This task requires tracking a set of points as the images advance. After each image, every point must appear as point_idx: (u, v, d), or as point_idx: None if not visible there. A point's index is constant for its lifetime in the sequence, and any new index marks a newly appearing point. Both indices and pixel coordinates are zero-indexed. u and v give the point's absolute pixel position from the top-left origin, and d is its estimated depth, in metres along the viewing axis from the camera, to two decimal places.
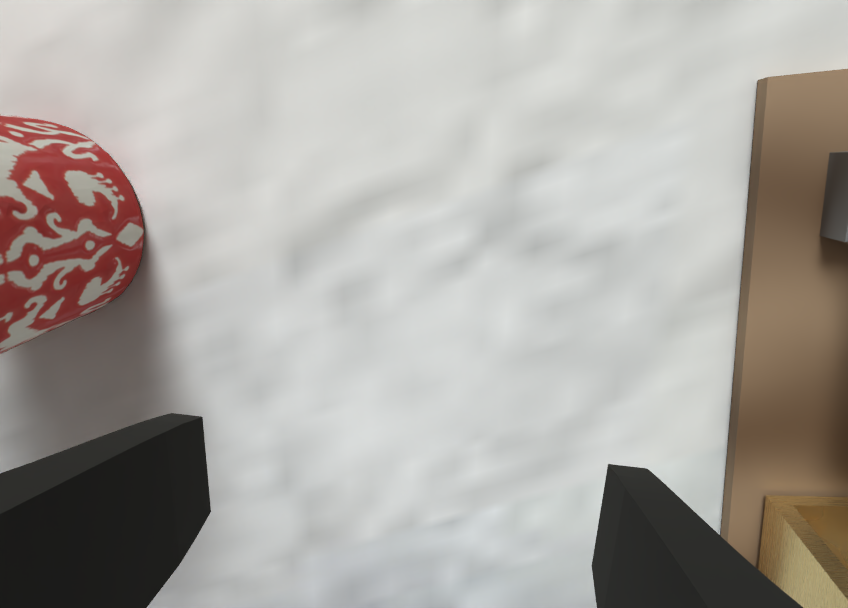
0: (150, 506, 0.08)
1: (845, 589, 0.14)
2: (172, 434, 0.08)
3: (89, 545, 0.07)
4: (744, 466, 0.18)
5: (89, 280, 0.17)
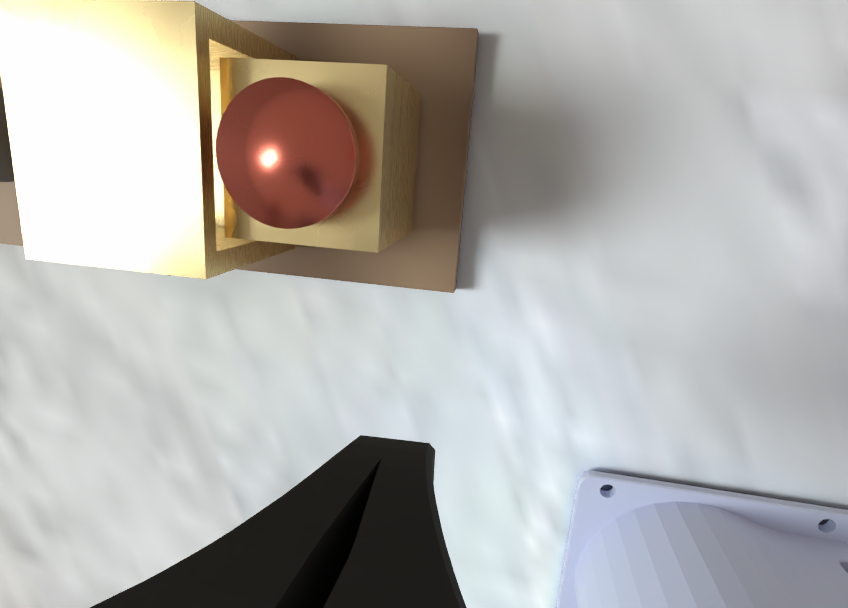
0: None
1: None
2: None
3: None
4: None
5: None
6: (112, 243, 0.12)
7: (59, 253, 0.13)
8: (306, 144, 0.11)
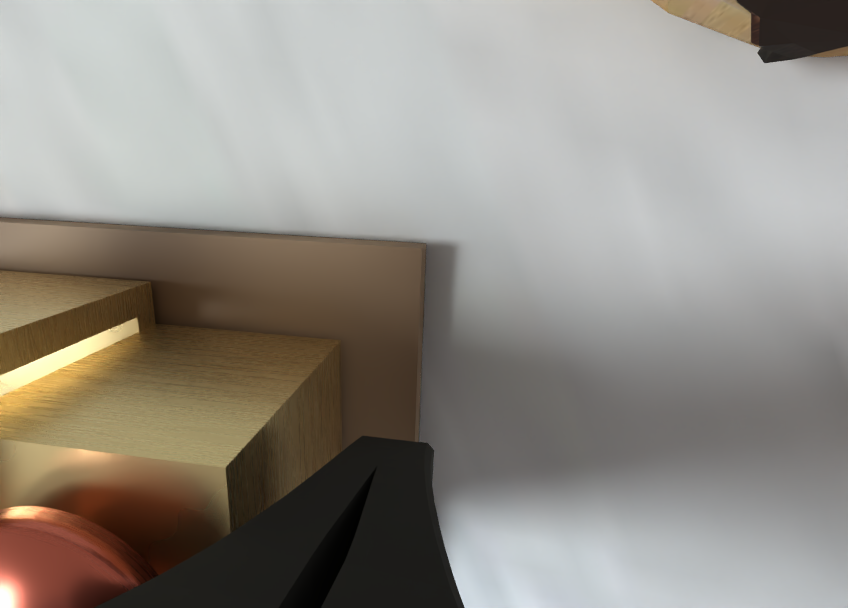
0: None
1: None
2: None
3: None
4: None
5: None
6: None
7: None
8: None
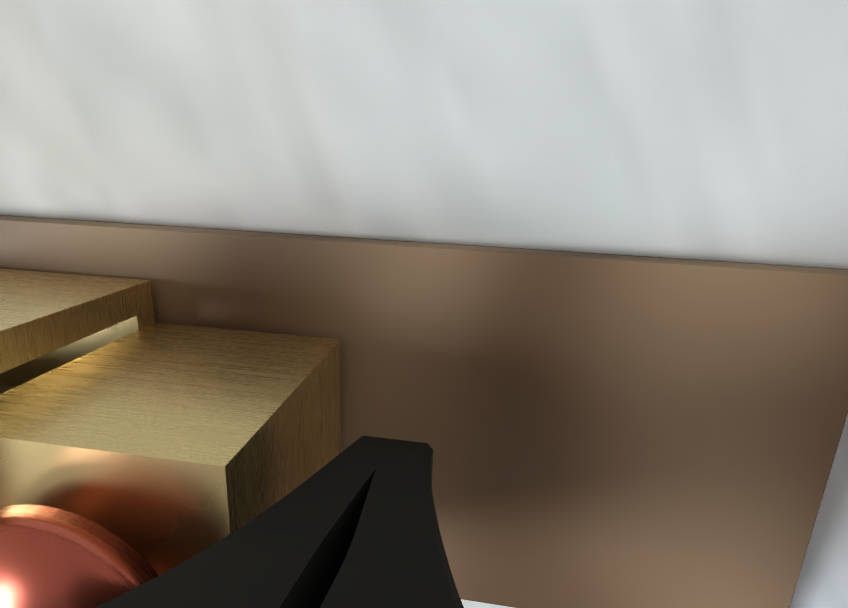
0: None
1: None
2: None
3: None
4: None
5: None
6: None
7: None
8: None
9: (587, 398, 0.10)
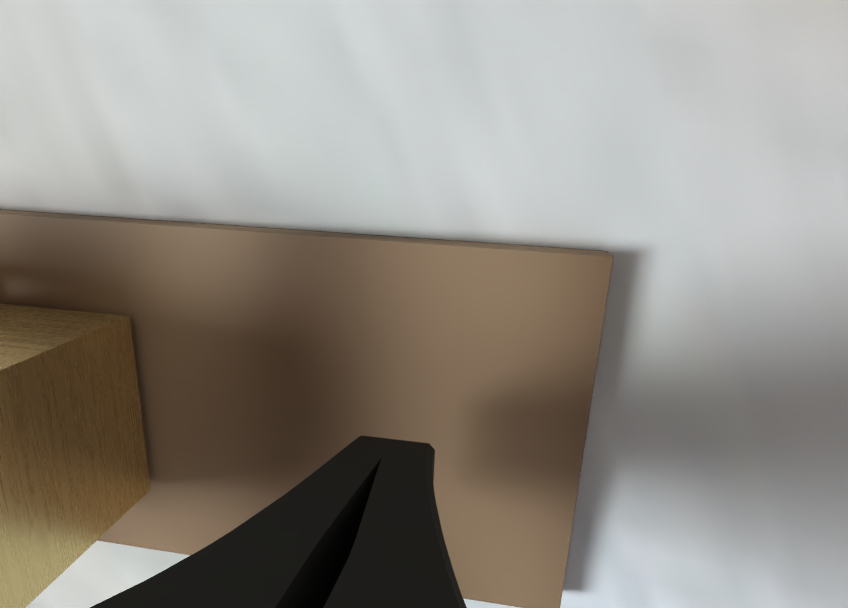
0: None
1: None
2: None
3: None
4: None
5: None
6: None
7: None
8: None
9: (362, 372, 0.10)
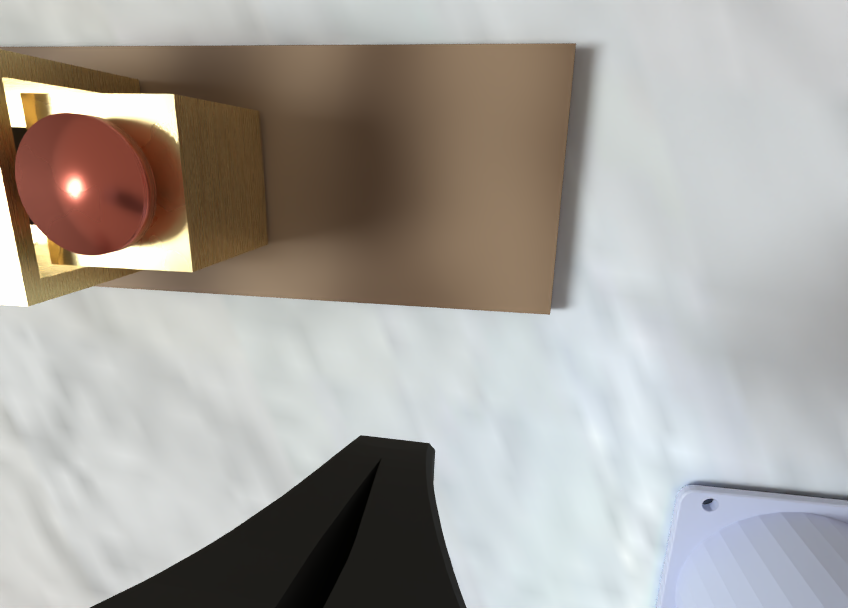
0: None
1: None
2: None
3: None
4: (218, 285, 0.18)
5: None
6: None
7: None
8: (97, 175, 0.12)
9: (415, 142, 0.16)
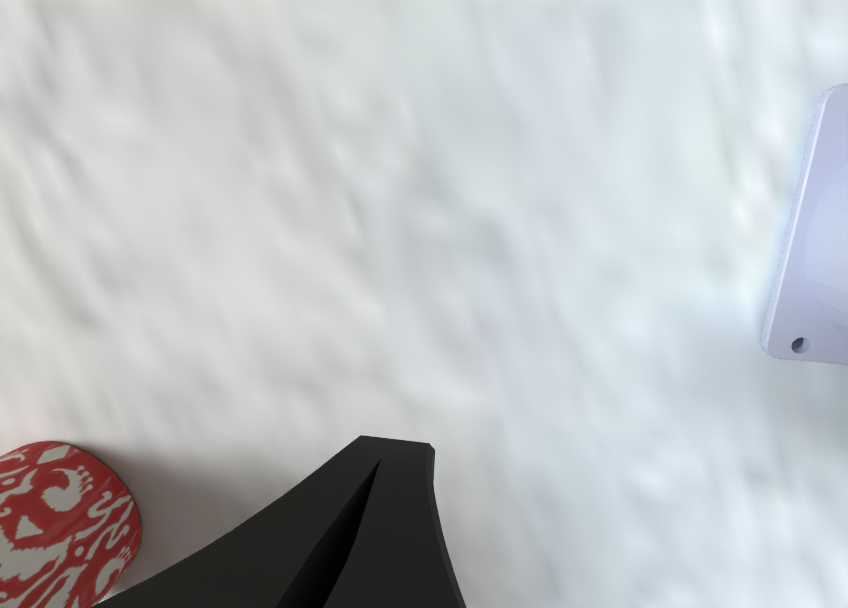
0: None
1: None
2: None
3: None
4: None
5: (41, 494, 0.19)
6: None
7: None
8: None
9: None
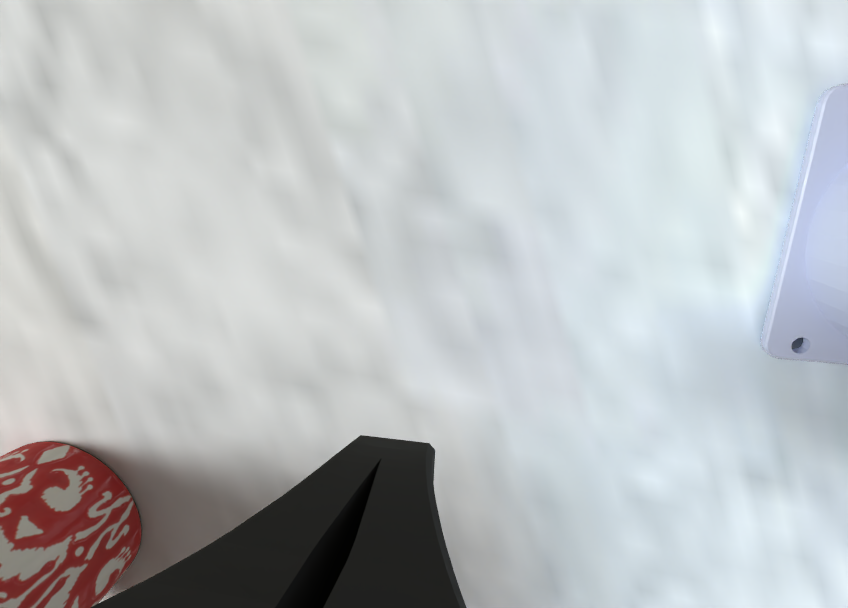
0: None
1: None
2: None
3: None
4: None
5: (41, 494, 0.19)
6: None
7: None
8: None
9: None
